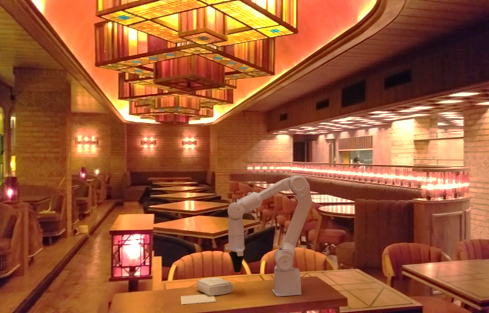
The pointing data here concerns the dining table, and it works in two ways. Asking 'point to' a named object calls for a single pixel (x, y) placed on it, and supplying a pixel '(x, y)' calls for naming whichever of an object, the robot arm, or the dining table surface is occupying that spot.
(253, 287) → the dining table surface
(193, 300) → the mat
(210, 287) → the photo printer
